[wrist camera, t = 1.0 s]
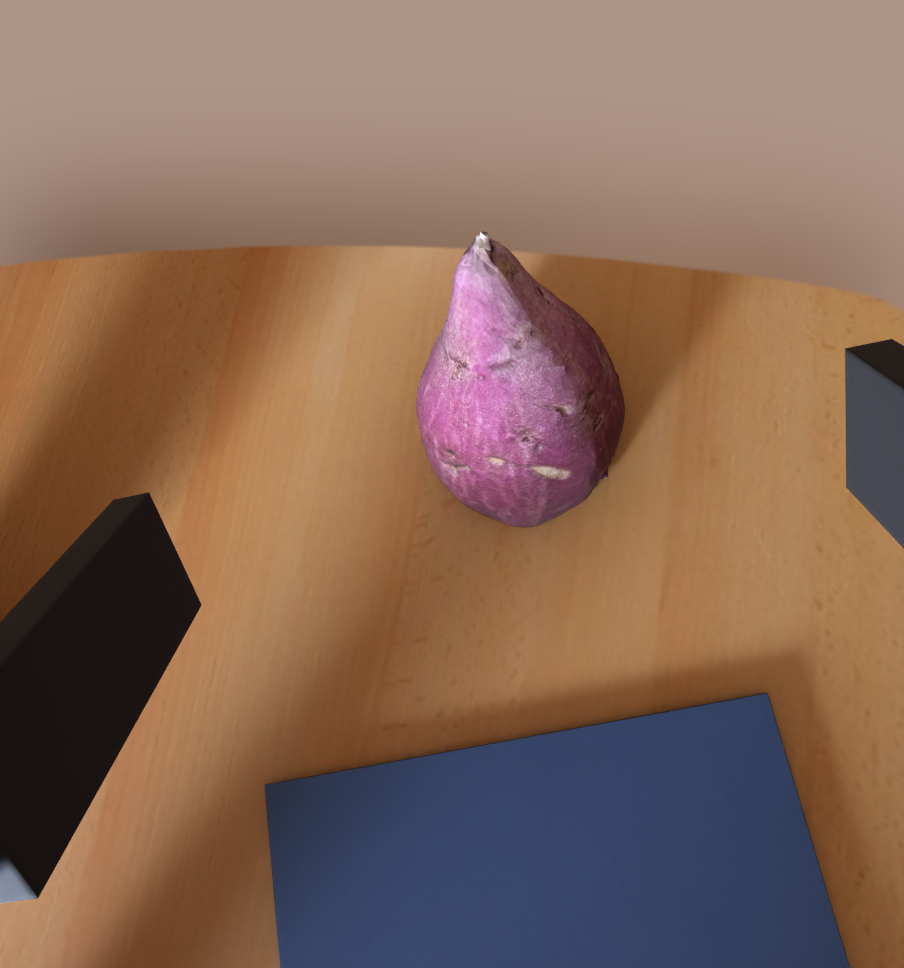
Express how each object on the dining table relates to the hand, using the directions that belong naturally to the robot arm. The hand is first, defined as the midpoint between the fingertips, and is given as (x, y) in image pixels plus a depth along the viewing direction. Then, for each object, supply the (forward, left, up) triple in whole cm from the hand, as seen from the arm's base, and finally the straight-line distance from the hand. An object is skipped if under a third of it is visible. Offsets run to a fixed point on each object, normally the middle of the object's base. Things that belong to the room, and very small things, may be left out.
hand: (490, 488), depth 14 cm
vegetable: (0, -10, -24) cm, 26 cm away
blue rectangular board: (+4, +14, -24) cm, 28 cm away
